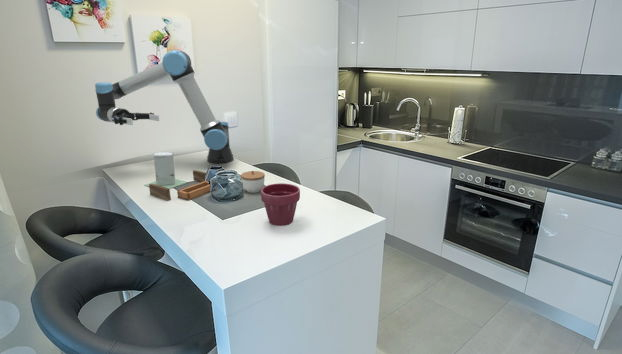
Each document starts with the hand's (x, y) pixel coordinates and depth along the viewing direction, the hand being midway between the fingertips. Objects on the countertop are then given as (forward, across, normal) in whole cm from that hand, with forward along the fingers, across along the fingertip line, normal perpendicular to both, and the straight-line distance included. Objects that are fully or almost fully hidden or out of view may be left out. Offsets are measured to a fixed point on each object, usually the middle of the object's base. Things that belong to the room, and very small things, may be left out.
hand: (145, 120), depth 163 cm
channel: (+22, 0, -30) cm, 37 cm away
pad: (+10, 0, -30) cm, 32 cm away
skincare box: (+10, 0, -30) cm, 31 cm away
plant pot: (+80, +2, -30) cm, 85 cm away
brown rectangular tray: (+31, 0, -30) cm, 44 cm away
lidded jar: (+50, -17, -30) cm, 61 cm away
